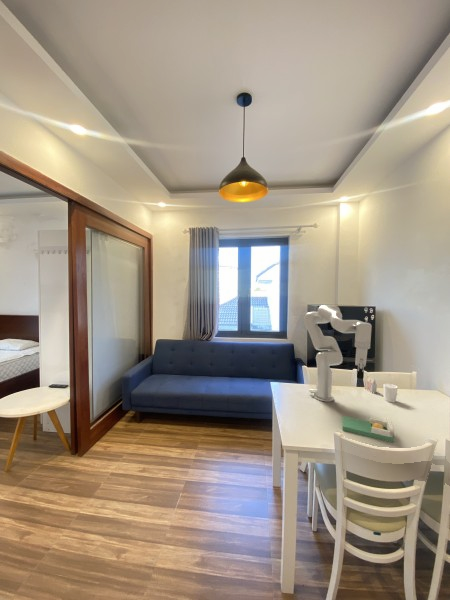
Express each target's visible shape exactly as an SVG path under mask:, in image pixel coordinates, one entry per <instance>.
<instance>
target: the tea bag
mask: <svg viewBox="0 0 450 600" xmlns="http://www.w3.org/2000/svg"><path fill="white" fill-rule="evenodd" d="M364 386H365V388H364V389H365V390H366V389H367V390H366V391H368V390H369V391H370V393H371V392H372V393H371V394H375V393H377V390H378V389H377V388H378V387H377V386H378V385H377V382H376V379H375V378H374V377H372V376H369V375H368V376H367V378H366V380H365V385H364ZM369 391H368V392H369ZM373 392H374V393H373Z"/></svg>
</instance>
